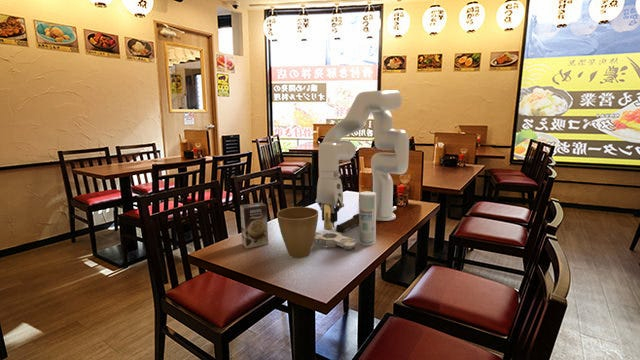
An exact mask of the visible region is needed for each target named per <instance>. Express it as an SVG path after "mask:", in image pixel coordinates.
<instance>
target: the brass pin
mask: <svg viewBox="0 0 640 360" xmlns="http://www.w3.org/2000/svg"><path fill="white" fill-rule="evenodd" d="M331 213H332V209H331V205H329V204H324V221H323V230H325V231H334V230H335V222H334V223H331Z"/></svg>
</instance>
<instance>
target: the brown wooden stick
mask: <svg viewBox="0 0 640 360" xmlns="http://www.w3.org/2000/svg"><path fill="white" fill-rule="evenodd" d="M354 226H359V213H356V214H353V216H352V217H351V218H350V219H348V220H346V221H344V222H342V223H339V224H336V225H335V232H337V233H338V232H339V233H340V234H343V233H345V232H346V231H348V230H349V229H351V228H352V227H353V228H354Z"/></svg>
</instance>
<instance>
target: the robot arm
mask: <svg viewBox="0 0 640 360" xmlns="http://www.w3.org/2000/svg"><path fill="white" fill-rule="evenodd" d="M402 102H403V95H402V94H401V92H400V91H399V90H396V89H394V90H392V89H389V90H371V91H362V92H359V93H357V95H356V97H355V99H354V100H353V102H352V104H351V106H350V108H349V110H348V112H347V113H346V116H345V117H343V118H342V119H341V120H340V121H338V122H337V123H336V124H334V125H333V126H332V127H331V128H330V129H329V130H328V131H327V133H326V134H325V135H324V138H323V140H322V141H321V143H319V145H318V178H317V179H318V180H317V185H316V199H315V203H317V205H318V207H319V209H320V211H321V220H322V221H323V222H324V204H329V205H331V209H332V213H331V223H334V224H335V223H336V222H338V213H339V211H340V210H341V209H342V208H344V207H345V203H344V193H343V192H344V191H343V190H344V189H343V184H342V180H341V178H340V177H341V172H340V170H339V168H340V167H339V165H340V164H339V163H340V162H339V161H348V160H351V159H353V157H354V156H355V155H356V146H355V144H354V143H353V142H351V141H349V140H341V139H342V138H344V137H346V136H349V135H351V134H354V133H357V132H358V131H361V130H362V129H364V128H365V125H366V123H367V121H368V119H369V117H370V115H372V117H373V121H374V136H373V137H374V146H375V148H376V149H377V150H381V151H382V150H385V151H395V152H383V151H382V152H376V153H375V154H373V155H372V156H371V159H370V167H371V172H372V174H371V175H372V192H375V193H376V221H381V222H382V221H383V222H385V221H387V222H388V221H393V220H395V219H396V217H397V216H396V214H395V213H394V211H397V206H395V205H394V206H393V203H394V201H393V197H394V196H393V195H394V181H393V178H392V176H391V174H392V175H404V174H405V173H406V172H407V171H408V168H409V158H410V157H409V155H410V154H409V152H410V139H409V134H408V133H407V132H406V130H404V129H397V128H396V129H394V118H393V115H392V111H397V110H399V108H400V107H402V106H401V105H402V104H403V103H402Z"/></svg>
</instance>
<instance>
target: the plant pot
mask: <svg viewBox="0 0 640 360" xmlns="http://www.w3.org/2000/svg"><path fill="white" fill-rule="evenodd" d="M276 216H277V217H276V218H277V223H278V227H279V230H280V234H281V238H282V240H283V244H284V246H285V248H286V251H287V252H288V255H289V256H290V257H291V258H293V259H302V258H306V257H308V256H310V253H311V250H312V247H313V244H314V237H315V233H316V232H317V228H318V227H317V226H318V221H319V220H318V219H319V211H318V210H317V209H315V208H313V207H309V206H292V207H287V208H284V209H283V208H282V209H281V210H278V211H277V213H276Z"/></svg>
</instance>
